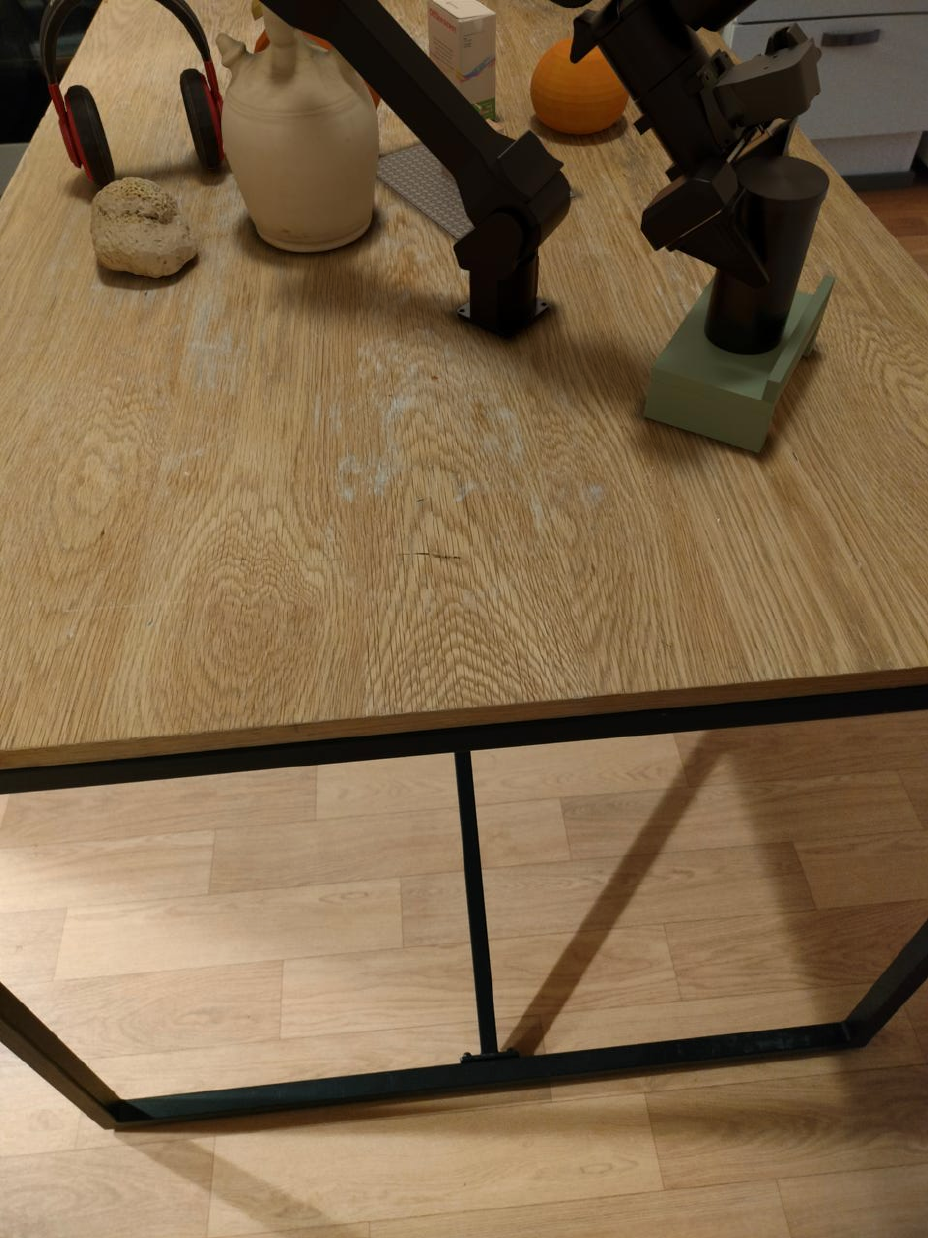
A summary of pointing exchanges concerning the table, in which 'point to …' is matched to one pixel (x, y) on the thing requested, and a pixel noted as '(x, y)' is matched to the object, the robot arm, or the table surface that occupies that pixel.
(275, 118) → the jug
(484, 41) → the ink box
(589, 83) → the fruit
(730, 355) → the olive lipped block
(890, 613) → the table surface
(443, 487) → the table surface
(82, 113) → the headphones
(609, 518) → the table surface
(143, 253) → the decorative item
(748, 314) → the canister
